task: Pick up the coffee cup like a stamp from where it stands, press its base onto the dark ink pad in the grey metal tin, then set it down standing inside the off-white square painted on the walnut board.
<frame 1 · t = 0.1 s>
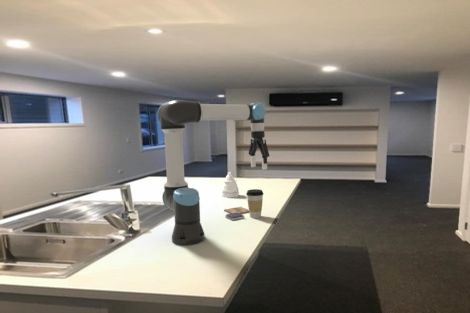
hand: (258, 168, 182), 28 cm above the counter, fingers open, 13 cm apart
coffee cup: (255, 216, 183), on the counter
white tiered cone: (230, 196, 240), on the counter
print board: (237, 211, 195), on the counter
ink pad: (234, 217, 182), on the counter
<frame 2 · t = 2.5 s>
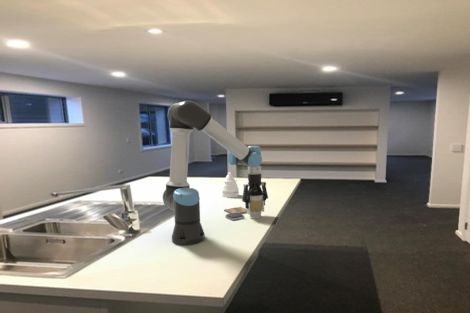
hand: (255, 212, 182), 2 cm above the counter, fingers closed on coffee cup, 9 cm apart
coffee cup: (255, 216, 183), on the counter, touching gripper
everything else where it was.
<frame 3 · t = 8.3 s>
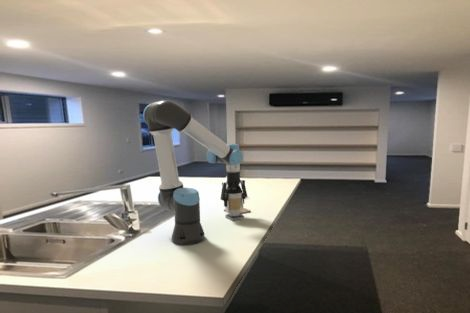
hand: (234, 210, 181), 4 cm above the counter, fingers closed on coffee cup, 9 cm apart
coffee cup: (234, 214, 182), point 2 cm above the counter, touching gripper, ink pad
everything else where it was.
when the fingers open (4 cm above the counter, at t = 14.1 s): coffee cup moves 3 cm, point 1 cm above the counter.
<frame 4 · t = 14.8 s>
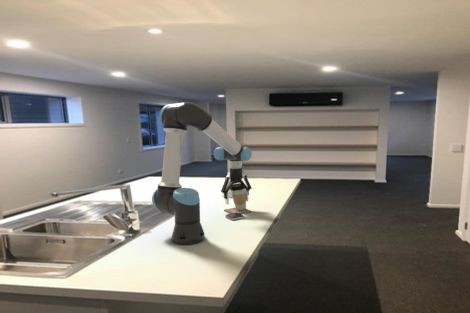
hand: (236, 202, 195), 6 cm above the counter, fingers open, 13 cm apart
coffee cup: (241, 208, 197), point 1 cm above the counter, touching gripper
everything else where it was.
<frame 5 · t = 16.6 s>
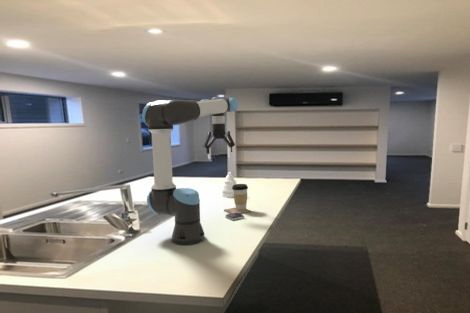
hand: (219, 158, 195), 33 cm above the counter, fingers open, 13 cm apart
coffee cup: (241, 209, 197), point 1 cm above the counter, touching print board
everything else where it was.
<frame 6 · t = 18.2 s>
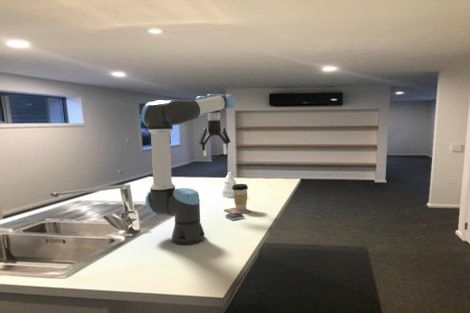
hand: (215, 155, 195), 35 cm above the counter, fingers open, 13 cm apart
nothing on the counter moved.
at the end: coffee cup inside the target area on the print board (2.9 cm from its centre), point 0.7 cm above the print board's base; coffee cup tilted 2°; the gripper is holding nothing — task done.
